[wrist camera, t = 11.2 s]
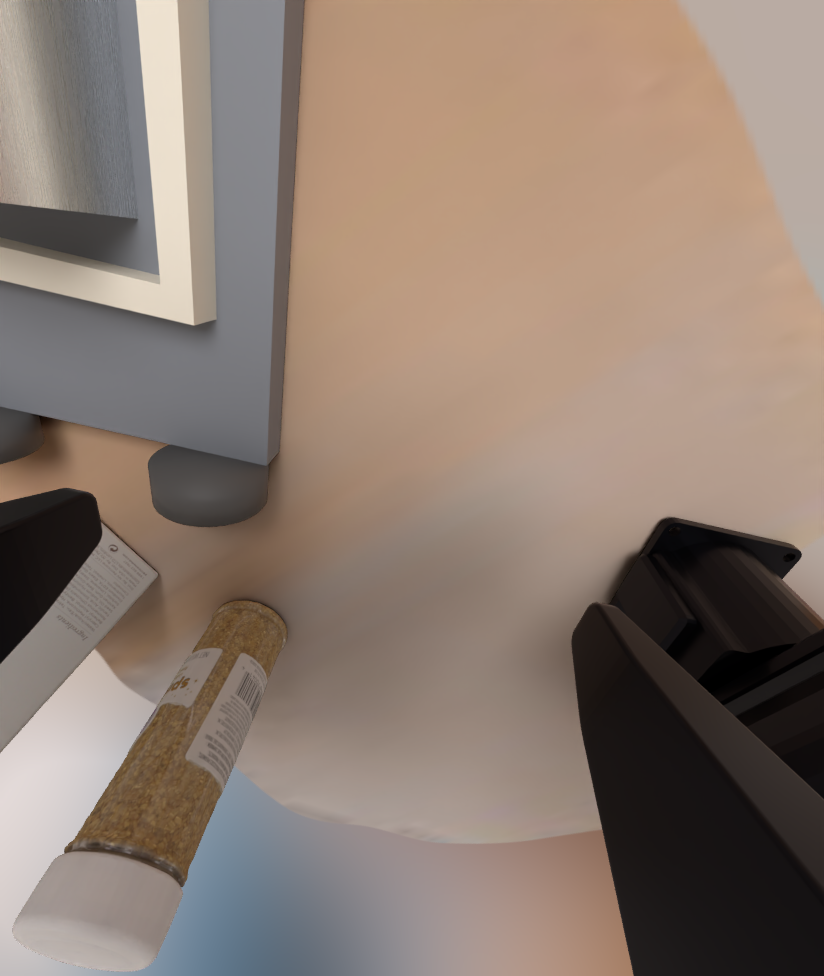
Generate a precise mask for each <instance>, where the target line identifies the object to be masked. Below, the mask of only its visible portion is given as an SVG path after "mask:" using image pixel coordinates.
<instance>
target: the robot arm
mask: <svg viewBox="0 0 824 976" xmlns="http://www.w3.org/2000/svg"><path fill="white" fill-rule="evenodd" d="M674 527H676V528H675V529H674V530H672V531H669V530H670V529H671V528H674ZM102 532H103V531H102V525H101V520H100V515H99V510H98V506H97V501H96V498H95V497H94V496H93V495H92V494H91V493H89V492H85V491H80V490H75V489H70V488H62V489H58V490H53V491H49V492H45V493H41V494H37V495H32V496H28V497H24V498H20V499H15V500H11V501H7V502H3V503H0V664H1V663H2V662H3V661H4V660H5V659H6V658H7V657H8V655H9V654H10V653H11V652H12V651H13V650H14V649H15V648H16V647H17V646H18V645H19V643H20V642H21V641H22V640H23V639H24V638H25V637H26V636H27V635H28V634H29V633H30V632H31V630H32V629H33V628H34V627H35V626H36V625H37V624H38V622H39V621H40V620H41V619H42V618H43V617H44V615H45V614H46V613H47V612H48V610H49V609H50V608H51V607H52V605H53V604H54V603H55V601H56V600H57V599H58V597H59V596H60V595H61V593H62V592H63V591H64V589H65V588H66V587H67V585H68V584H69V583H70V582H71V580H72V579H73V578H74V576H75V575H76V574H77V572H78V571H79V570H80V568H81V567H82V566H83V564H84V563H85V562H86V560H87V559H88V558H89V556H90V555H91V554H92V552H93V551H94V550H95V548H96V547H97V546H98V544H99V542H100V540H101V538H102ZM786 554H787V555H786ZM801 555H802V554H801V552H800V550H798V549H797V548H796V547H795V546H794V545H792V544H789V543H784V542H780V541H776V540H771V539H767V538H762V537H758V536H754V535H749V534H745V533H740V532H736V531H732V530H727V529H723V528H718V527H714V526H710V525H705V524H701V523H696V522H692V521H688V520H683V519H679V518H668V519H666V520H664V521H663V522H662V523H661V524H660V525H659V527H658V528H657V530H656V532H655V533H654V535H653V536H652V538H651V540H650V541H649V543H648V544H647V546H646V547H645V549H644V551H643V552H642V554H641V555H640V557H639V558H638V559H637V561H636V562H635V564H634V565H633V567H632V569H631V570H630V572H629V573H628V575H627V576H626V578H625V580H624V581H623V583H622V584H621V586H620V587H619V589H618V591H617V593H616V595H615V596H614V598H613V599H612V601H611V603H610V604H609V605H608V604H603V603H598V602H595V603H592V604H590V605H589V607H588V608H587V610H586V611H585V613H584V615H583V616H582V618H581V620H580V621H579V623H578V625H577V626H576V628H575V630H574V632H573V635H572V642H571V643H572V654H573V663H574V672H575V681H576V691H577V700H578V709H579V717H580V724H581V730H582V735H583V741H584V746H585V750H586V755H587V760H588V764H589V769H590V774H591V778H592V783H593V788H594V792H595V797H596V802H597V806H598V811H599V816H600V820H601V825H602V830H603V834H604V839H605V844H606V848H607V853H608V857H609V862H610V867H611V872H612V876H613V881H614V886H615V890H616V895H617V900H618V904H619V909H620V914H621V918H622V923H623V928H624V932H625V937H626V942H627V946H628V951H629V955H630V960H631V965H632V970H633V974H634V976H824V620H823V619H822V618H821V617H820V616H819V615H818V614H817V613H816V612H815V611H814V610H813V609H812V608H811V607H810V606H809V605H808V604H807V603H806V602H805V601H803V600H802V599H801V598H800V597H799V596H798V595H797V594H796V593H795V592H794V591H793V590H792V589H791V588H790V587H789V586H788V585H787V584H786V583H785V582H784V581H783V580H782V579H783V578H784V576H785V575H786V574H787V573H788V572H789V571H790V570H791V569H792V568H793V566H794V565H795V564H796V563H797V562H798V561H799V560H800V558H801Z"/></svg>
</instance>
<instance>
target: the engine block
mask: <svg viewBox="0 0 824 976" xmlns="http://www.w3.org/2000/svg"><path fill="white" fill-rule="evenodd" d="M0 203H7V204H16V205H24V206H33V207H41V208H50V209H59V210H67V211H76V212H84V213H93V214H101V215H110V216H118V217H127V218H135V219H138V209H137V199H136V189H135V179H134V170H133V160H132V150H131V140H130V131H129V121H128V111H127V101H126V92H125V82H124V72H123V62H122V52H121V43H120V33H119V23H118V13H117V4H116V0H0Z"/></svg>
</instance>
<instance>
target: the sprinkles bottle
mask: <svg viewBox="0 0 824 976" xmlns="http://www.w3.org/2000/svg"><path fill="white" fill-rule="evenodd" d="M286 641H287V629H286V626H285V623H284V622H283V620H282V619H281V617H280V616H279V615H278V614H277V613H276V612H275V611H273V610H272V609H270V608H268V607H266V606H264V605H262V604H260V603H258V602H251V601H232V602H228V603H226V604H224V605H222V606H221V607H220V608H219V609H218V610H217V611H216V612H215V613H214V614H213V617H212V620H211V623H210V625H209V626H208V628H207V630H206V631H205V633H204V634H203V636H202V638H201V639H200V641H199V642H198V644H197V645H196V647H195V648H194V650H193V652H192V654H191V655H190V656H189V657H188V658H187V659H186V661H185V662H184V664H183V666H182V667H181V669H180V670H179V672H178V674H177V675H176V677H175V678H174V680H173V682H172V683H171V685H170V687H169V688H168V690H167V692H166V693H165V695H164V696H163V698H162V699H161V701H160V703H159V704H158V706H157V707H156V709H155V711H154V712H153V714H152V715H151V717H150V718H149V720H148V722H147V723H146V725H145V726H144V728H143V730H142V731H141V732H140V734H139V736H138V737H137V739H136V740H135V742H134V743H133V745H132V747H131V748H130V750H129V752H128V755H127V757H126V758H125V760H124V762H123V764H122V765H121V767H120V768H119V770H118V771H117V772H116V774H115V776H114V778H113V779H112V780H111V782H110V783H109V785H108V787H107V788H106V790H105V792H104V793H103V795H102V796H101V798H100V799H99V801H98V802H97V804H96V806H95V808H94V810H93V811H92V812H91V814H90V816H89V817H88V818H87V819H86V821H85V823H84V825H83V827H82V828H81V830H80V831H79V833H78V835H77V836H76V838H75V839H74V840H73V841H72V842H70V843H69V844H68V846H66V847H65V850H64V852H65V853H64V854H62V855H60V856H58V857H57V858H55V859H54V861H53V862H52V863H51V865H50V866H49V868H48V869H47V871H46V872H45V874H44V875H43V877H42V878H41V880H40V881H39V883H38V885H37V886H36V888H35V889H34V891H33V893H32V894H31V896H30V897H29V899H28V901H27V902H26V904H25V905H24V907H23V909H22V910H21V912H20V913H19V915H18V917H17V918H16V920H15V922H14V925H13V929H12V932H13V936H14V938H15V939H16V941H18V942H19V943H20V944H21V945H23V946H24V947H26V948H28V949H30V950H32V951H34V952H36V953H39V954H41V955H44V956H46V957H49V958H51V959H54V960H57V961H60V962H63V963H68V964H71V965H75V966H80V967H85V968H91V969H98V970H108V971H118V972H123V971H124V972H130V971H137V970H140V969H144V968H146V967H147V966H149V965H150V964H151V963H152V962H153V961H154V960H155V958H156V957H157V955H158V952H159V950H160V948H161V945H162V943H163V941H164V939H165V937H166V935H167V932H168V930H169V928H170V925H171V923H172V921H173V918H174V915H175V913H176V911H177V908H178V906H179V903H180V901H181V899H182V895H183V892H182V889H181V887H183V886H184V884H185V882H186V880H187V875H188V869H189V866H190V864H191V862H192V860H193V858H194V855H195V853H196V850H197V848H198V846H199V843H200V841H201V838H202V836H203V834H204V831H205V829H206V826H207V824H208V822H209V820H210V817H211V815H212V813H213V811H214V808H215V805H216V803H217V801H218V799H219V798H220V796H221V794H222V792H223V790H224V788H225V785H226V783H227V781H228V778H229V776H230V773H231V771H232V769H233V766H234V764H235V762H236V759H237V757H238V754H239V752H240V750H241V747H242V745H243V742H244V740H245V737H246V735H247V733H248V730H249V728H250V725H251V723H252V720H253V718H254V716H255V713H256V711H257V708H258V706H259V703H260V701H261V698H262V696H263V694H264V691H265V689H266V685H267V680H268V677H269V676H270V673H271V671H272V669H273V666H274V664H275V661H276V659H277V656H278V654H279V652H280V650H281V649H283V647H284V646H285V643H286Z"/></svg>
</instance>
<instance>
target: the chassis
mask: <svg viewBox="0 0 824 976" xmlns="http://www.w3.org/2000/svg"><path fill="white" fill-rule="evenodd" d="M116 4H117V13H118V23H119V33H120V43H121V52H122V62H123V72H124V82H125V92H126V101H127V111H128V121H129V131H130V140H131V150H132V160H133V170H134V179H135V189H136V199H137V209H138V219H135V218H127V217H118V216H110V215H101V214H93V213H84V212H76V211H67V210H59V209H50V208H41V207H33V206H24V205H16V204H7V203H0V464H3V463H7V462H10V461H14V460H17V459H20V458H22V457H25V456H27V455H29V454H31V453H33V452H35V451H36V450H38V449H39V448H40V447H41V446H42V445H43V443H44V434H43V430H42V426H41V423H40V419H39V415H41V416H45V417H50V418H54V419H59V420H63V421H68V422H72V423H77V424H81V425H86V426H90V427H95V428H99V429H104V430H108V431H113V432H117V433H122V434H126V435H131V436H135V437H139V438H144V439H148V440H153V441H157V442H162V443H166V444H171V445H168V446H166V447H164V448H162V449H160V450H158V451H157V452H156V453H154V454H153V455H152V457H151V458H150V460H149V462H148V470H149V478H150V486H151V494H152V502H153V505H154V508H155V509H156V511H157V512H158V513H159V514H161V515H162V516H163V517H165V518H167V519H169V520H171V521H174V522H176V523H180V524H183V525H189V526H197V527H217V526H225V525H230V524H234V523H238V522H241V521H243V520H246V519H248V518H250V517H252V516H254V515H255V514H257V513H258V512H259V511H260V510H261V509H262V508H263V507H264V506H265V504H266V502H267V496H268V472H269V463H270V462H271V460H272V459H273V458H274V457H275V456H276V455H277V453H278V452H279V449H280V431H281V413H282V395H283V377H284V359H285V340H286V322H287V304H288V286H289V268H290V250H291V232H292V214H293V196H294V178H295V160H296V142H297V124H298V106H299V88H300V70H301V51H302V33H303V15H304V0H116Z"/></svg>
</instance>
